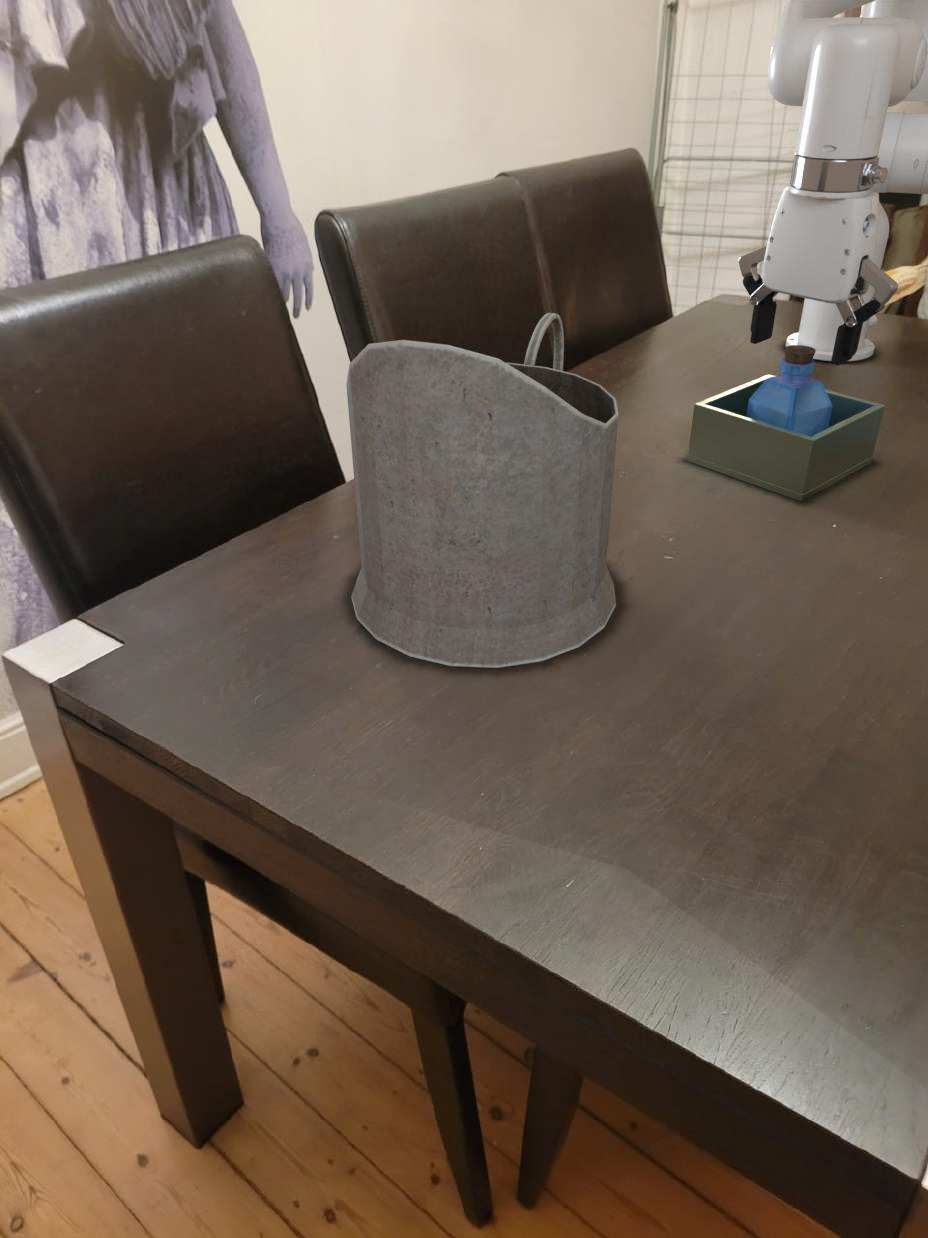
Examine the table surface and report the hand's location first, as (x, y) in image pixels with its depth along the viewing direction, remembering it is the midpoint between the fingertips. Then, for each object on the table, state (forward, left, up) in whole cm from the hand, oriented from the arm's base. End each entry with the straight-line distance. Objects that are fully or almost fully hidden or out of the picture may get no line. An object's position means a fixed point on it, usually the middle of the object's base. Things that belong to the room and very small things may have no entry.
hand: (799, 350), depth 99 cm
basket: (+1, 0, -13) cm, 13 cm away
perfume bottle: (0, 0, -12) cm, 12 cm away
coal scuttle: (+41, -4, -13) cm, 43 cm away
